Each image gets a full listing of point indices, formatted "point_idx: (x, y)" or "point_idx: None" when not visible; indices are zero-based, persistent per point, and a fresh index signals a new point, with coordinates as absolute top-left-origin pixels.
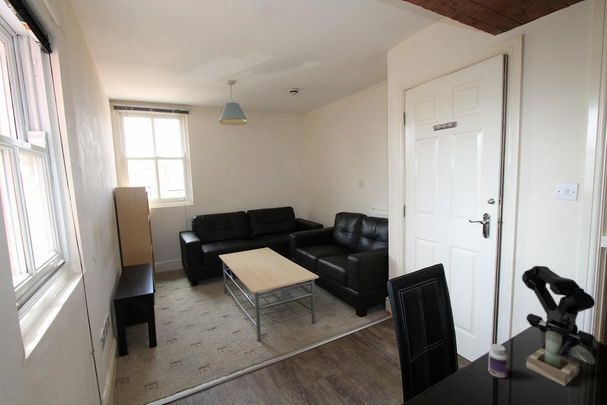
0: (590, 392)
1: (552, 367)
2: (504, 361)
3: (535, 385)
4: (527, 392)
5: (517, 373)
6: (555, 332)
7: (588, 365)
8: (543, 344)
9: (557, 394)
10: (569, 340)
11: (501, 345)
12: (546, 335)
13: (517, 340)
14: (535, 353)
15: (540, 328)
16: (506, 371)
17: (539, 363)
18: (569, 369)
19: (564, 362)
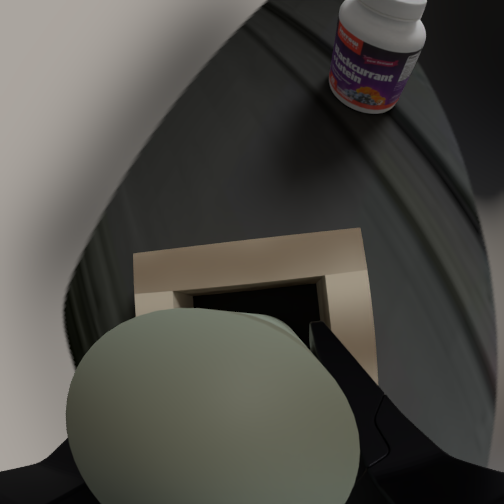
0: (88, 320)
1: (213, 276)
2: (338, 19)
3: (234, 142)
4: (228, 82)
5: (329, 152)
6: None
7: None
8: (324, 341)
9: (155, 171)
10: (47, 471)
11: (406, 3)
12: (300, 343)
13: (485, 445)
14: (367, 349)
15: (474, 465)
16: (334, 76)
17: (282, 242)
18: None
19: None
